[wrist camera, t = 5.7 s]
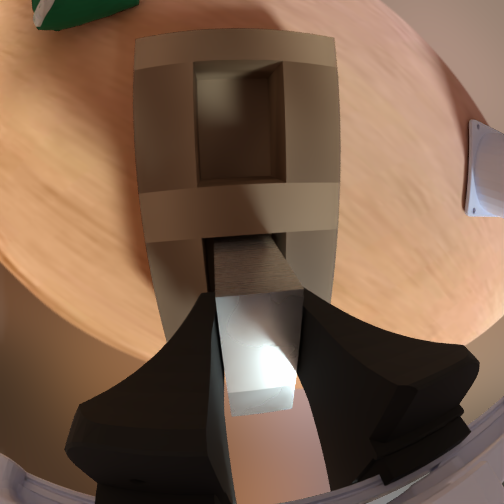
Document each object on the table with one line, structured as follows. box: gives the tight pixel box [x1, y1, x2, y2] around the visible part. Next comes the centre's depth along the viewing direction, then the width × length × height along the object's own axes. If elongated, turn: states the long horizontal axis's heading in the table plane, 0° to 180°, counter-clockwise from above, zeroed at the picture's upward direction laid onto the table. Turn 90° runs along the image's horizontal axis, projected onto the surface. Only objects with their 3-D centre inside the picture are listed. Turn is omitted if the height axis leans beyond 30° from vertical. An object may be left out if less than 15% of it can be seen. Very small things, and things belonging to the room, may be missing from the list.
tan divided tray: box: [133, 28, 341, 342], centre depth 12 cm, size 8×15×4 cm, turn 1°
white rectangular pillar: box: [214, 233, 304, 416], centre depth 11 cm, size 2×6×7 cm, turn 1°
